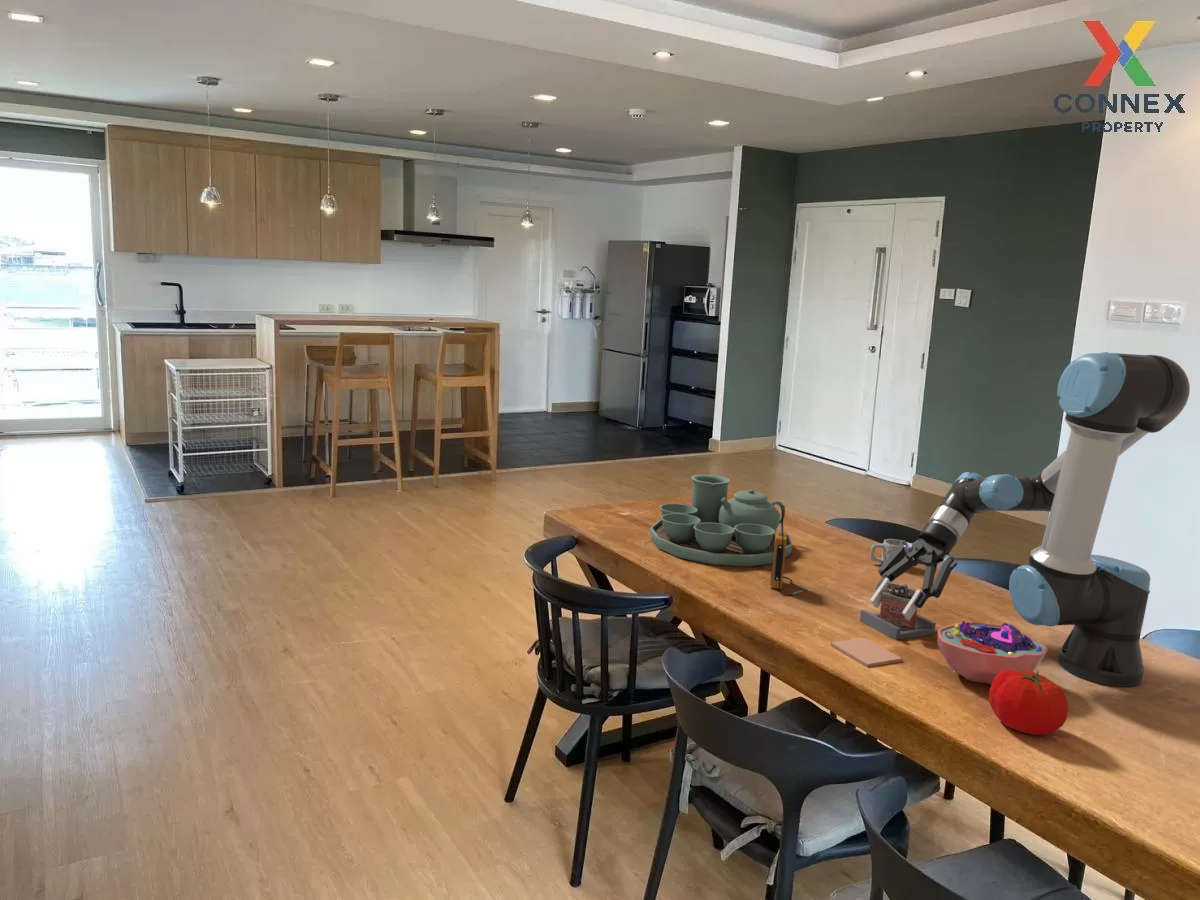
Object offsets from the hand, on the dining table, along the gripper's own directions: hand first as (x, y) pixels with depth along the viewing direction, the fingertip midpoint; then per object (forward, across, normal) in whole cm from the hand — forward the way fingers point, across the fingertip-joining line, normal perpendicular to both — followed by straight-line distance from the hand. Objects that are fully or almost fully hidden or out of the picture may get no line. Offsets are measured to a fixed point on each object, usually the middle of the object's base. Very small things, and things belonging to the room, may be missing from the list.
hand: (889, 610), depth 193 cm
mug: (-25, +30, -32) cm, 50 cm away
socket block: (+1, 0, -6) cm, 6 cm away
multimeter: (+2, +30, -4) cm, 30 cm away
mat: (+14, -6, +7) cm, 17 cm away
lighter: (+1, 0, -6) cm, 6 cm away
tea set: (-3, +64, -10) cm, 65 cm away
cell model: (+6, -25, -1) cm, 26 cm away
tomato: (+15, -40, +8) cm, 44 cm away
